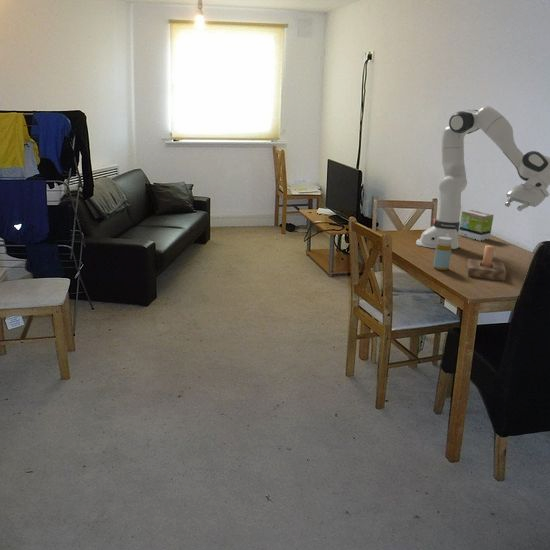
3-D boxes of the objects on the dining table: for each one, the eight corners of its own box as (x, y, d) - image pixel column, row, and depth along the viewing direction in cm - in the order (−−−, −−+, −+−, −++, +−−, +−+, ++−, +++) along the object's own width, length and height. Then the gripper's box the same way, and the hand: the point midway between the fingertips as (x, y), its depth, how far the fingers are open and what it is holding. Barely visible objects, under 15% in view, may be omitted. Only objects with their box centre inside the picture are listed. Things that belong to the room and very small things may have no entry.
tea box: (457, 235, 331) (461, 210, 327) (468, 233, 337) (471, 209, 333) (479, 241, 320) (484, 215, 315) (490, 239, 326) (494, 214, 321)
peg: (480, 274, 260) (485, 247, 256) (480, 271, 264) (484, 244, 260) (489, 275, 259) (494, 248, 255) (489, 272, 263) (494, 246, 259)
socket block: (467, 276, 256) (468, 267, 255) (466, 266, 271) (468, 258, 269) (504, 280, 252) (506, 272, 251) (502, 270, 266) (503, 262, 265)
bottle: (446, 271, 261) (450, 240, 256) (431, 268, 265) (435, 238, 260) (450, 268, 267) (454, 237, 262) (435, 265, 270) (439, 235, 266)
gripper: (517, 178, 270) (495, 198, 271) (545, 185, 251) (522, 207, 252) (523, 188, 272) (502, 207, 273) (552, 195, 253) (529, 217, 254)
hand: (512, 207), depth 262 cm, fingers open, 8 cm apart
